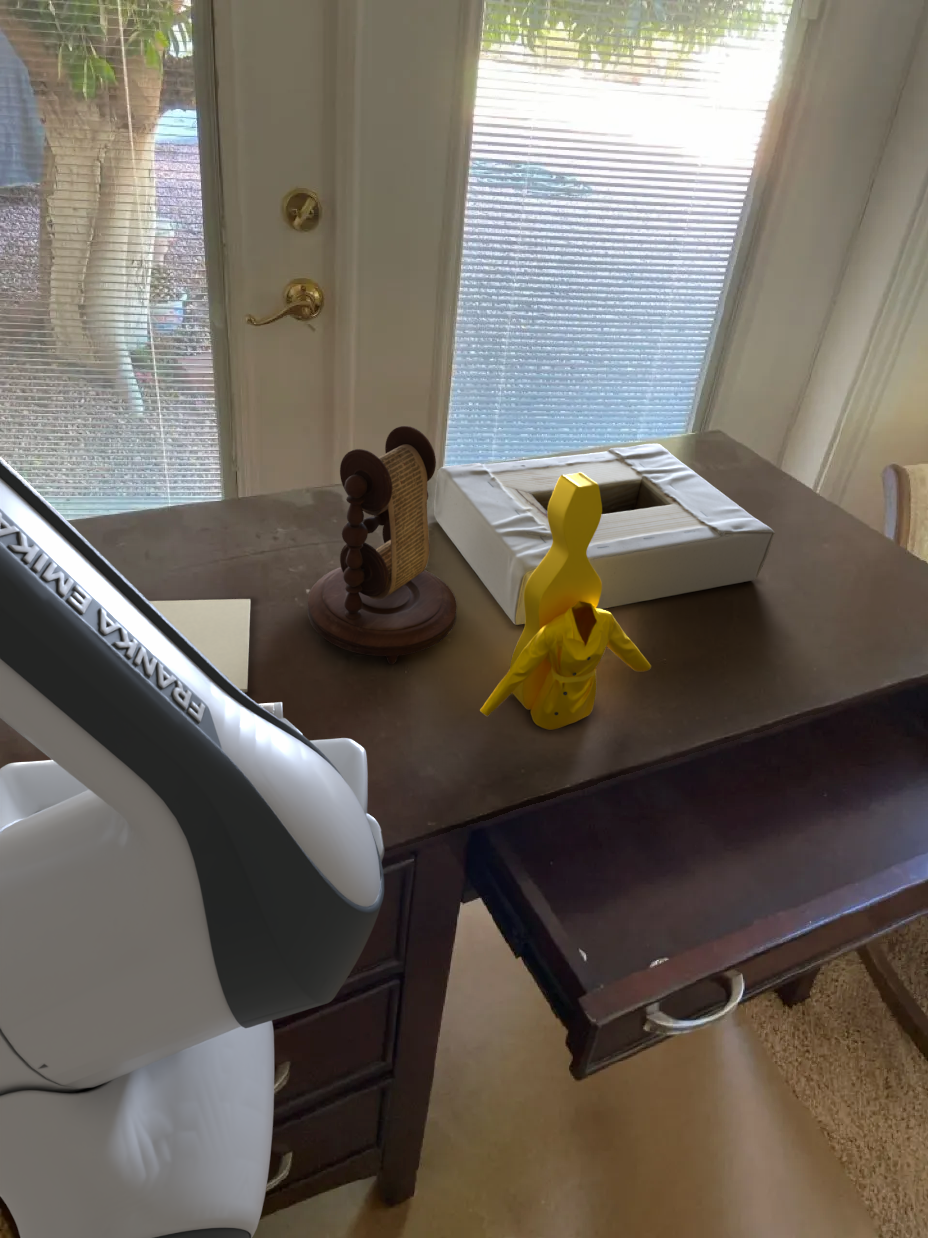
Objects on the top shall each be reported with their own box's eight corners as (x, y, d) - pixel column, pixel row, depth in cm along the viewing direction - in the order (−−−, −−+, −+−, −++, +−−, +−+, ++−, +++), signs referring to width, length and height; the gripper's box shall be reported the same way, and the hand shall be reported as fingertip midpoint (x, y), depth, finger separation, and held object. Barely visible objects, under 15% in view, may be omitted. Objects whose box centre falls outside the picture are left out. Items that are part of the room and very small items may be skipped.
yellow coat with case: (488, 757, 75) (522, 534, 62) (447, 700, 81) (470, 484, 68) (654, 706, 83) (716, 498, 70) (607, 657, 88) (655, 455, 75)
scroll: (397, 689, 81) (409, 495, 70) (276, 627, 87) (268, 439, 75) (482, 616, 92) (505, 437, 80) (368, 565, 98) (374, 391, 86)
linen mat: (80, 699, 76) (79, 695, 76) (104, 605, 87) (104, 601, 87) (247, 692, 79) (247, 689, 79) (250, 601, 90) (250, 598, 90)
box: (515, 632, 90) (761, 581, 102) (524, 568, 86) (780, 522, 98) (428, 524, 107) (648, 490, 119) (432, 465, 103) (660, 437, 115)
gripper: (391, 837, 44) (362, 665, 55) (-65, 882, 40) (3, 686, 51) (387, 917, 47) (361, 741, 58) (-31, 966, 43) (25, 766, 54)
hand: (192, 716), depth 54 cm, fingers open, 8 cm apart
